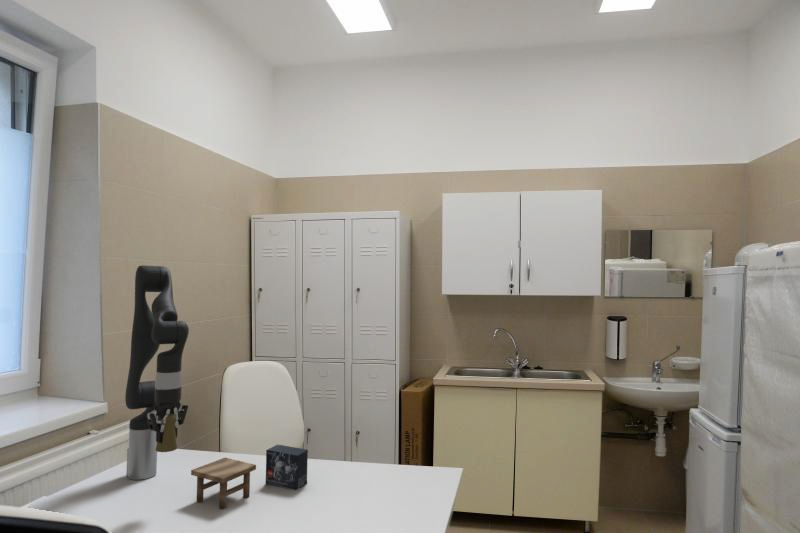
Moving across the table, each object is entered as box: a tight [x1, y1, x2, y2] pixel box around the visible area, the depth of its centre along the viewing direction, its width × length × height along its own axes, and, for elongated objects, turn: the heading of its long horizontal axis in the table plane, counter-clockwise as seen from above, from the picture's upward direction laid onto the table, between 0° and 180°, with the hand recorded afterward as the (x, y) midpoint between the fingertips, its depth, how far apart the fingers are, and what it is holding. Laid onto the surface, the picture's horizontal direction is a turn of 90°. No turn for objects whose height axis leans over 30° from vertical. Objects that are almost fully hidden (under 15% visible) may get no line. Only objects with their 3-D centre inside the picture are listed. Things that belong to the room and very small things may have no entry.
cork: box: [156, 413, 178, 453], centre depth 163 cm, size 6×6×11 cm
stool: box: [190, 457, 257, 510], centre depth 170 cm, size 14×14×10 cm
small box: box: [265, 444, 309, 491], centre depth 183 cm, size 13×7×12 cm, turn 68°
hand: (166, 441), depth 163 cm, fingers closed on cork, 4 cm apart
